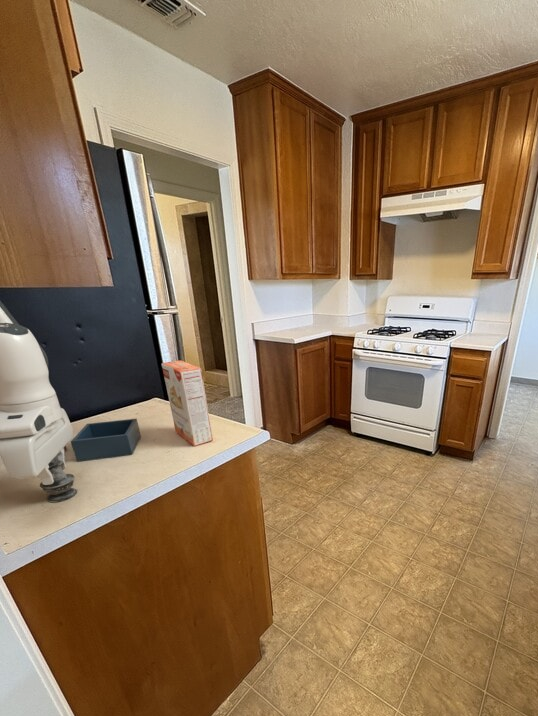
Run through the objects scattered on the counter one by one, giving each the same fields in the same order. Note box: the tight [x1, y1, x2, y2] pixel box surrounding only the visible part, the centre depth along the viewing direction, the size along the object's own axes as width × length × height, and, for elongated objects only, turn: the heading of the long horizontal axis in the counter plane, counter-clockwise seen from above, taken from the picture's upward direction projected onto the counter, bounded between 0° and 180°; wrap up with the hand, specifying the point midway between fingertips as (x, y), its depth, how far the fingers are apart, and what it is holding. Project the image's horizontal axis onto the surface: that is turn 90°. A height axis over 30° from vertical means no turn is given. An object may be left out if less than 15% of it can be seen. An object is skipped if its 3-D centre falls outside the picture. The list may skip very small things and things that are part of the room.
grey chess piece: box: [39, 455, 78, 503], centre depth 72 cm, size 6×6×12 cm
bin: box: [70, 418, 142, 463], centre depth 94 cm, size 13×13×6 cm
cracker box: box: [161, 359, 214, 447], centre depth 97 cm, size 14×6×21 cm, turn 41°
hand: (55, 476), depth 72 cm, fingers open, 4 cm apart
